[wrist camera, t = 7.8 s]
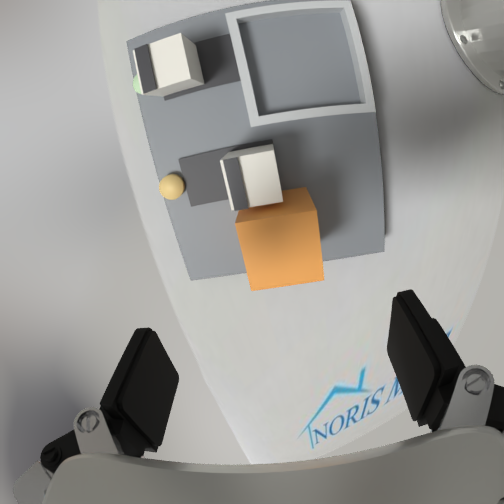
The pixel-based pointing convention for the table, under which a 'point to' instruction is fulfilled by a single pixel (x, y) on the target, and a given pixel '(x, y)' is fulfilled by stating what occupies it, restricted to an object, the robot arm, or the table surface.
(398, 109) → the table surface
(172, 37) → the toggle
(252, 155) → the cube with dark stripe
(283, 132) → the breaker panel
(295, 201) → the cap
